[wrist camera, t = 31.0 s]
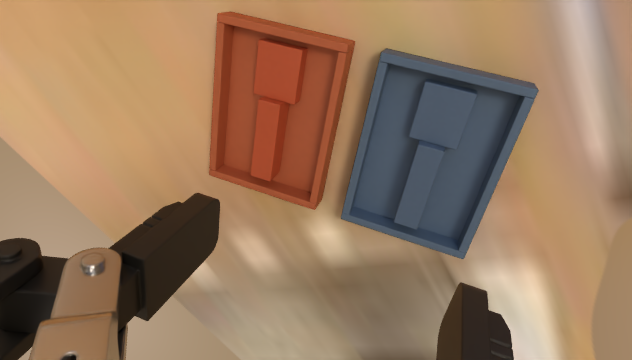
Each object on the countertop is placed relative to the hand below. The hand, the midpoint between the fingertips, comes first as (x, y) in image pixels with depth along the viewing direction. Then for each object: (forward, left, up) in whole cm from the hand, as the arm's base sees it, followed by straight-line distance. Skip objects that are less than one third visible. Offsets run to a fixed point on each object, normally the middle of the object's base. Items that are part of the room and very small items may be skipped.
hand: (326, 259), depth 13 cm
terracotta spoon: (+3, -9, -19) cm, 21 cm away
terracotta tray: (+3, -9, -19) cm, 21 cm away
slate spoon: (+3, +3, -19) cm, 19 cm away
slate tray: (+3, +3, -19) cm, 19 cm away
